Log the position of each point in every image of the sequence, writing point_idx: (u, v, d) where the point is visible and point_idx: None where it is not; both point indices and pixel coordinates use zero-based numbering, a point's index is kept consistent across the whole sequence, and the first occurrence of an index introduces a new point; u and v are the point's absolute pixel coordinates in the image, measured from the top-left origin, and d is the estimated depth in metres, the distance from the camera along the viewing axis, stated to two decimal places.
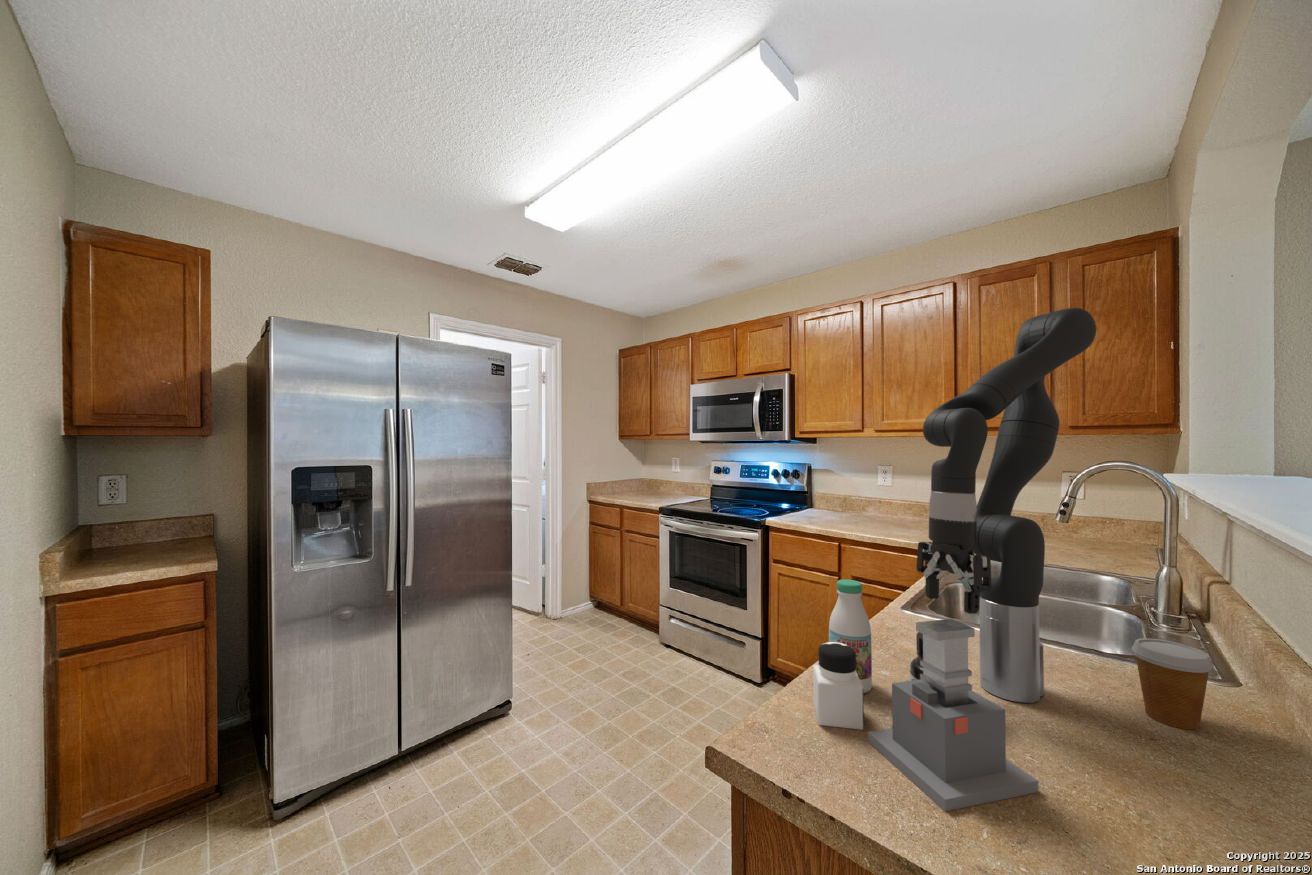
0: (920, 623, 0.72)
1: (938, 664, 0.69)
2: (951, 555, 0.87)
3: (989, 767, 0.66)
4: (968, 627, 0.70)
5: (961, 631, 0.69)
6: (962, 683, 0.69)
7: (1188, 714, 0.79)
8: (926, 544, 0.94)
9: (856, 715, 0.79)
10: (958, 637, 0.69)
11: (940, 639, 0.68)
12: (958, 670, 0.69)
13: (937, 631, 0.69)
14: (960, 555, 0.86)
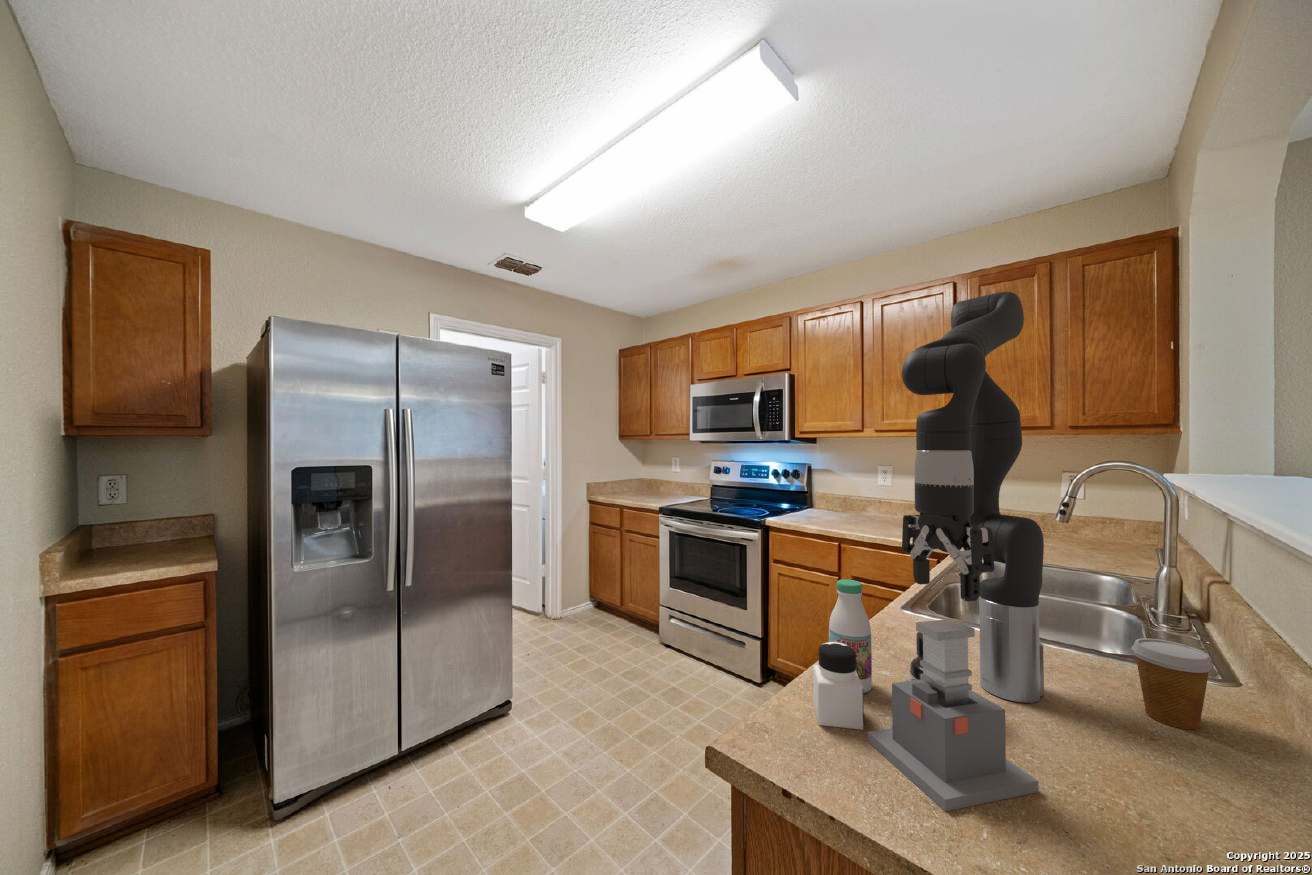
0: (920, 623, 0.72)
1: (938, 664, 0.69)
2: (943, 529, 0.69)
3: (989, 767, 0.66)
4: (968, 627, 0.70)
5: (961, 631, 0.69)
6: (962, 683, 0.69)
7: (1188, 714, 0.79)
8: (913, 517, 0.76)
9: (856, 715, 0.79)
10: (958, 637, 0.69)
11: (940, 639, 0.68)
12: (958, 670, 0.69)
13: (937, 631, 0.69)
14: (954, 528, 0.68)
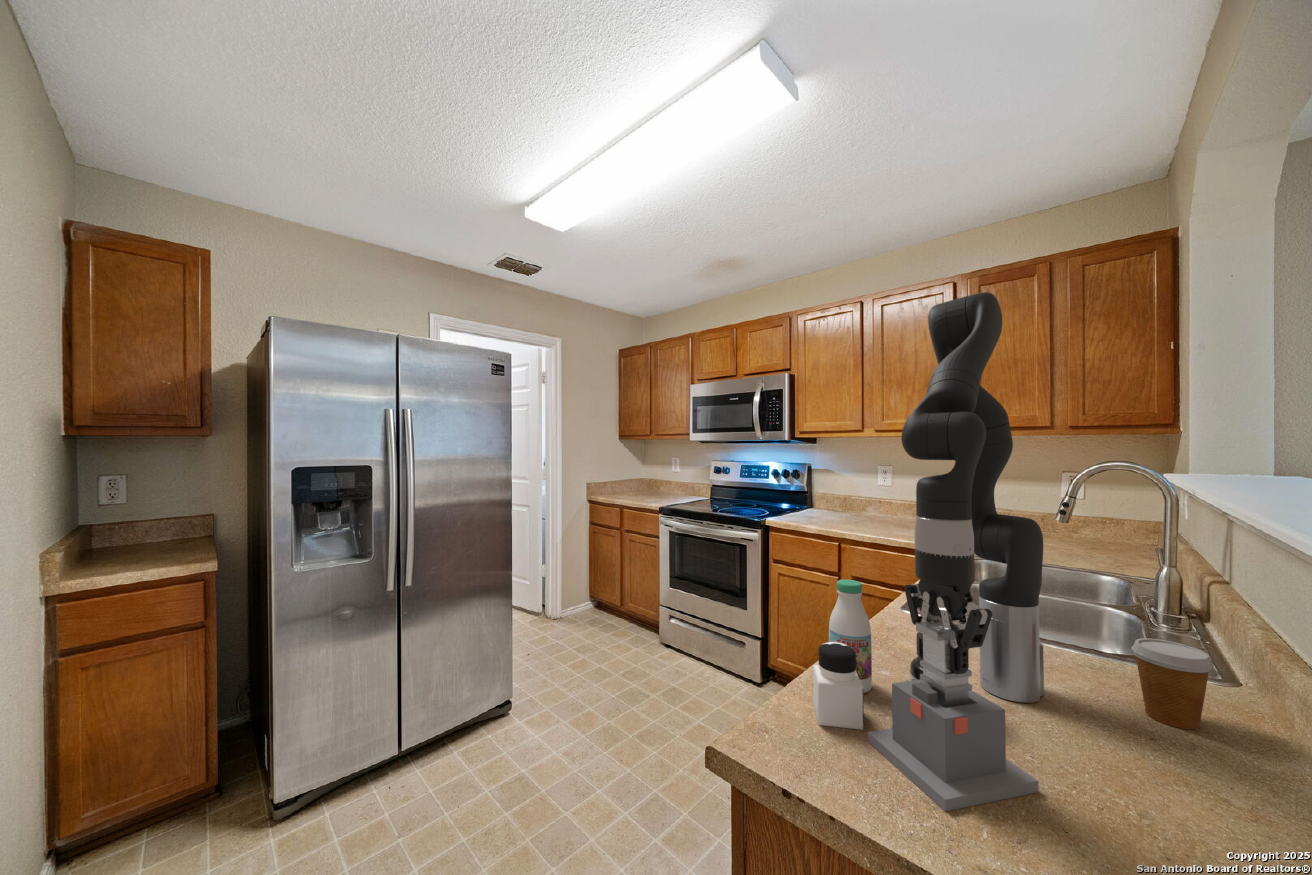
0: (920, 623, 0.72)
1: (938, 664, 0.69)
2: (944, 599, 0.69)
3: (989, 767, 0.66)
4: None
5: None
6: (962, 683, 0.69)
7: (1188, 714, 0.79)
8: (913, 586, 0.76)
9: (856, 715, 0.79)
10: (958, 637, 0.69)
11: (940, 639, 0.68)
12: None
13: (937, 631, 0.69)
14: (955, 598, 0.68)
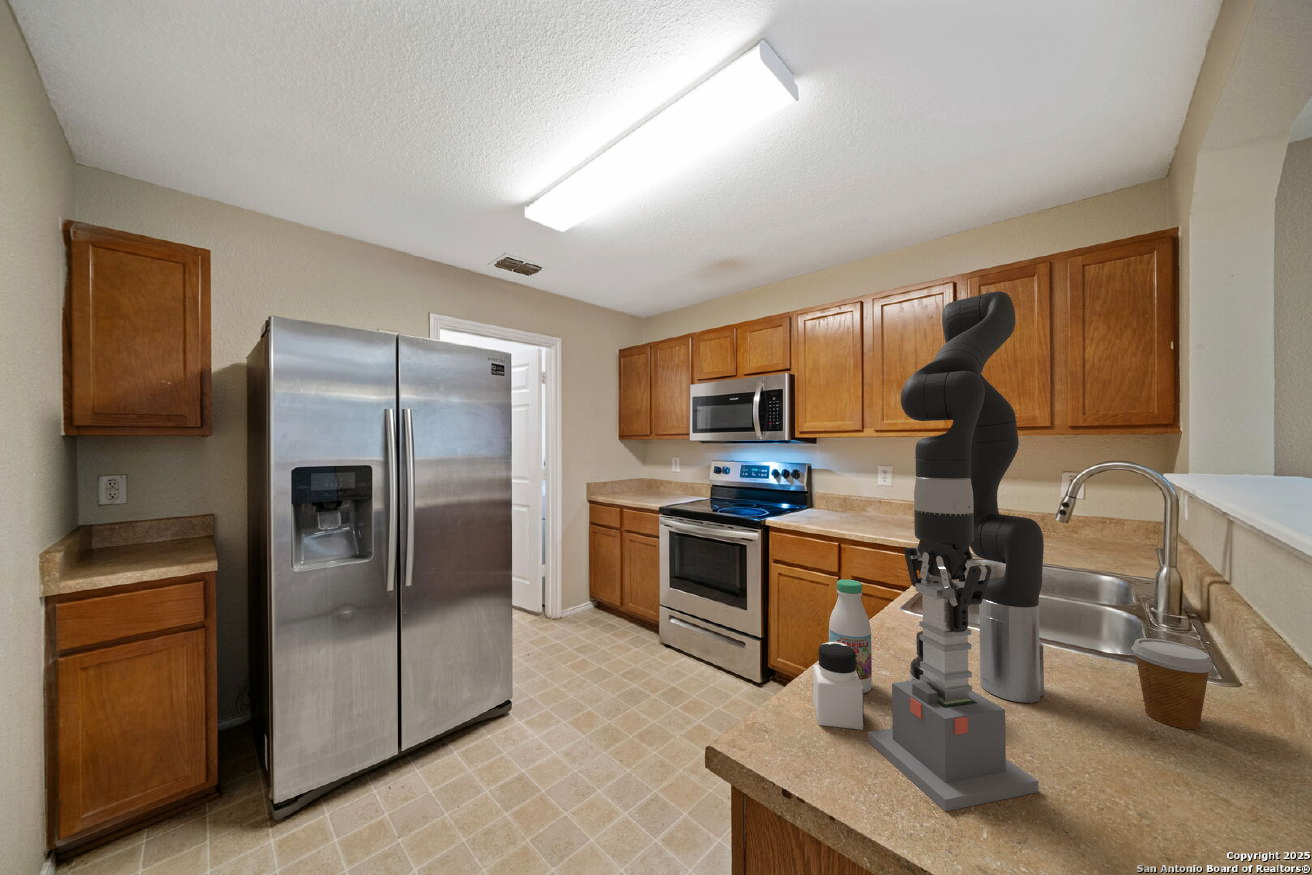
0: (920, 583, 0.72)
1: (938, 623, 0.70)
2: (944, 558, 0.69)
3: (989, 767, 0.66)
4: None
5: None
6: (961, 642, 0.69)
7: (1188, 714, 0.79)
8: (913, 549, 0.76)
9: (856, 715, 0.79)
10: (958, 596, 0.69)
11: (940, 598, 0.68)
12: None
13: (937, 590, 0.69)
14: (954, 557, 0.68)
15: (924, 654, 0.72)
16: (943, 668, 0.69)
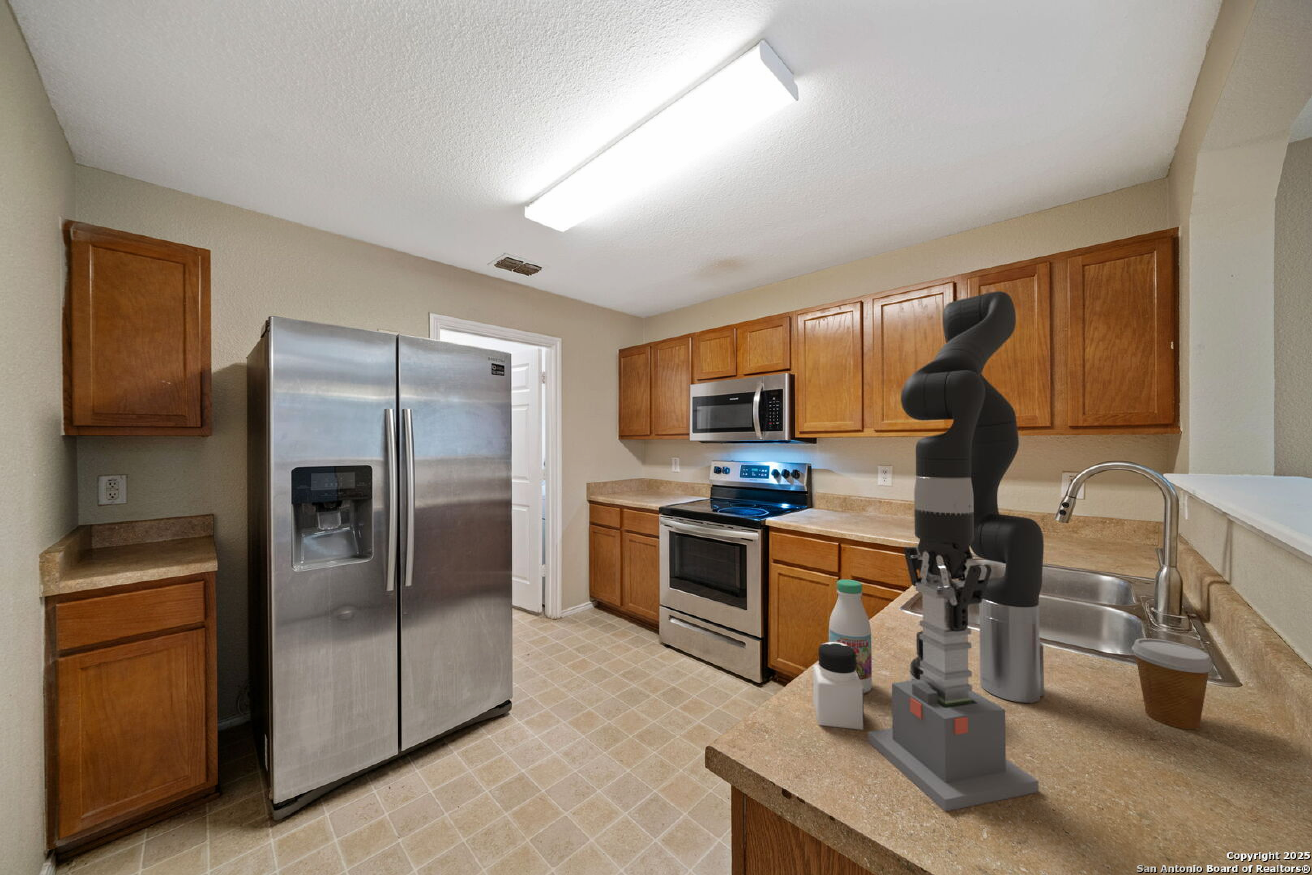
0: (920, 583, 0.72)
1: (938, 623, 0.70)
2: (944, 557, 0.69)
3: (989, 767, 0.66)
4: None
5: None
6: (961, 641, 0.69)
7: (1188, 714, 0.79)
8: (913, 548, 0.76)
9: (856, 715, 0.79)
10: None
11: (940, 597, 0.68)
12: None
13: (937, 589, 0.69)
14: (954, 556, 0.68)
15: (924, 653, 0.72)
16: (943, 667, 0.69)
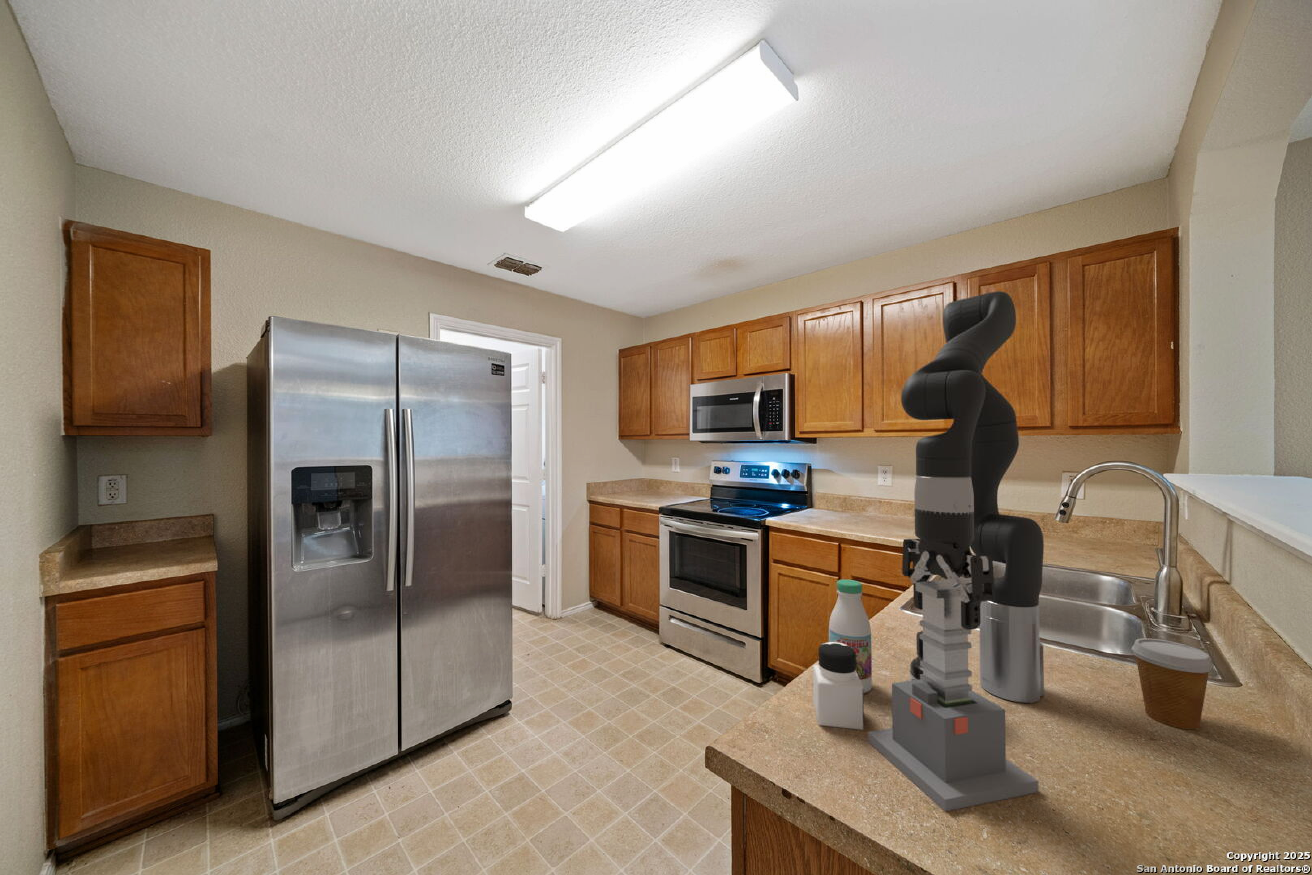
0: (920, 583, 0.72)
1: (938, 622, 0.70)
2: (943, 556, 0.69)
3: (989, 767, 0.66)
4: None
5: None
6: (961, 641, 0.69)
7: (1188, 714, 0.79)
8: (913, 542, 0.76)
9: (856, 715, 0.79)
10: (958, 595, 0.69)
11: (940, 597, 0.68)
12: (957, 628, 0.69)
13: (937, 589, 0.69)
14: (954, 556, 0.68)
15: (924, 653, 0.72)
16: (943, 667, 0.69)
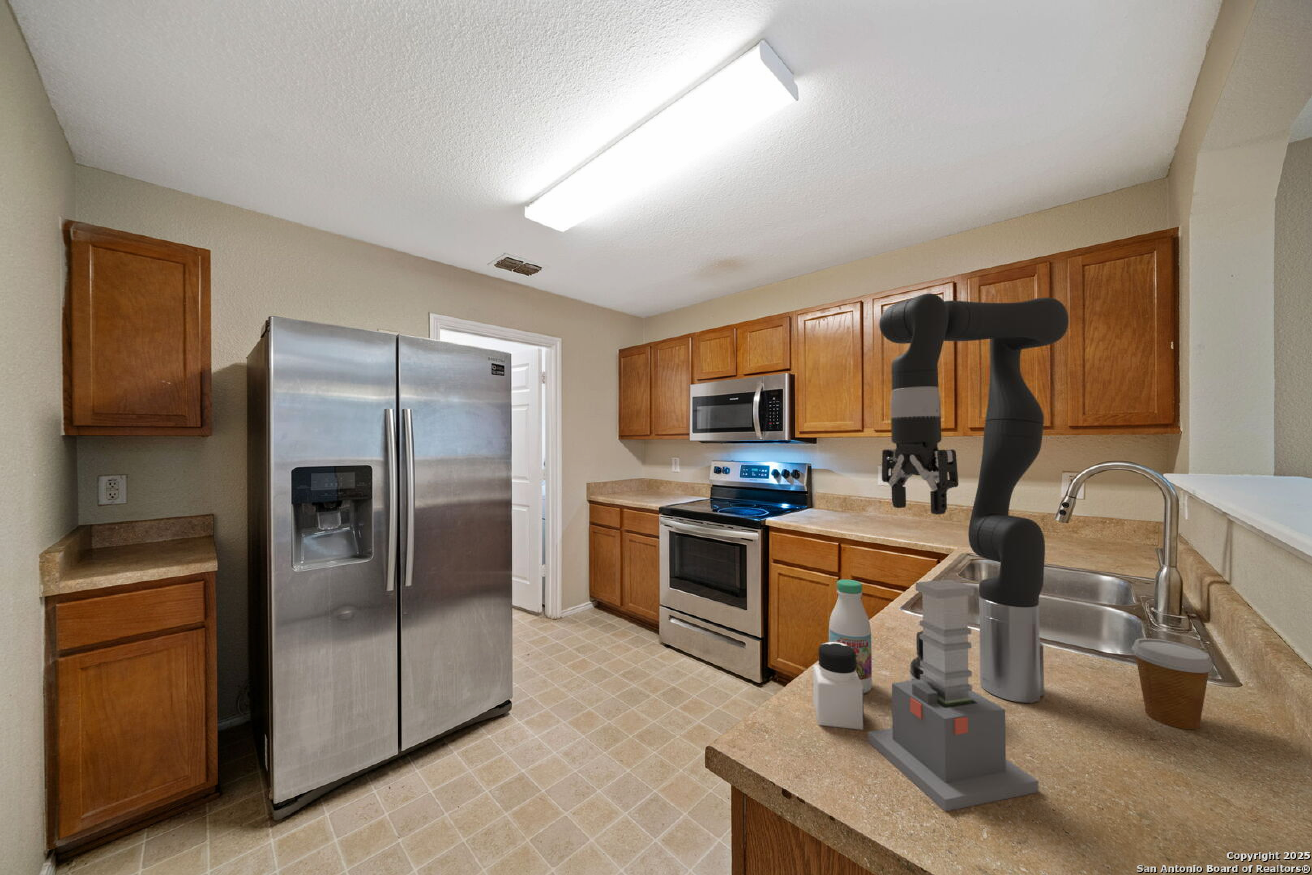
0: (920, 583, 0.72)
1: (938, 622, 0.70)
2: (915, 455, 0.80)
3: (989, 767, 0.66)
4: (967, 586, 0.70)
5: (961, 589, 0.69)
6: (961, 641, 0.69)
7: (1188, 714, 0.79)
8: (890, 451, 0.87)
9: (856, 715, 0.79)
10: (958, 595, 0.69)
11: (940, 597, 0.68)
12: (957, 628, 0.69)
13: (937, 589, 0.69)
14: (924, 453, 0.79)
15: (924, 653, 0.72)
16: (943, 667, 0.69)
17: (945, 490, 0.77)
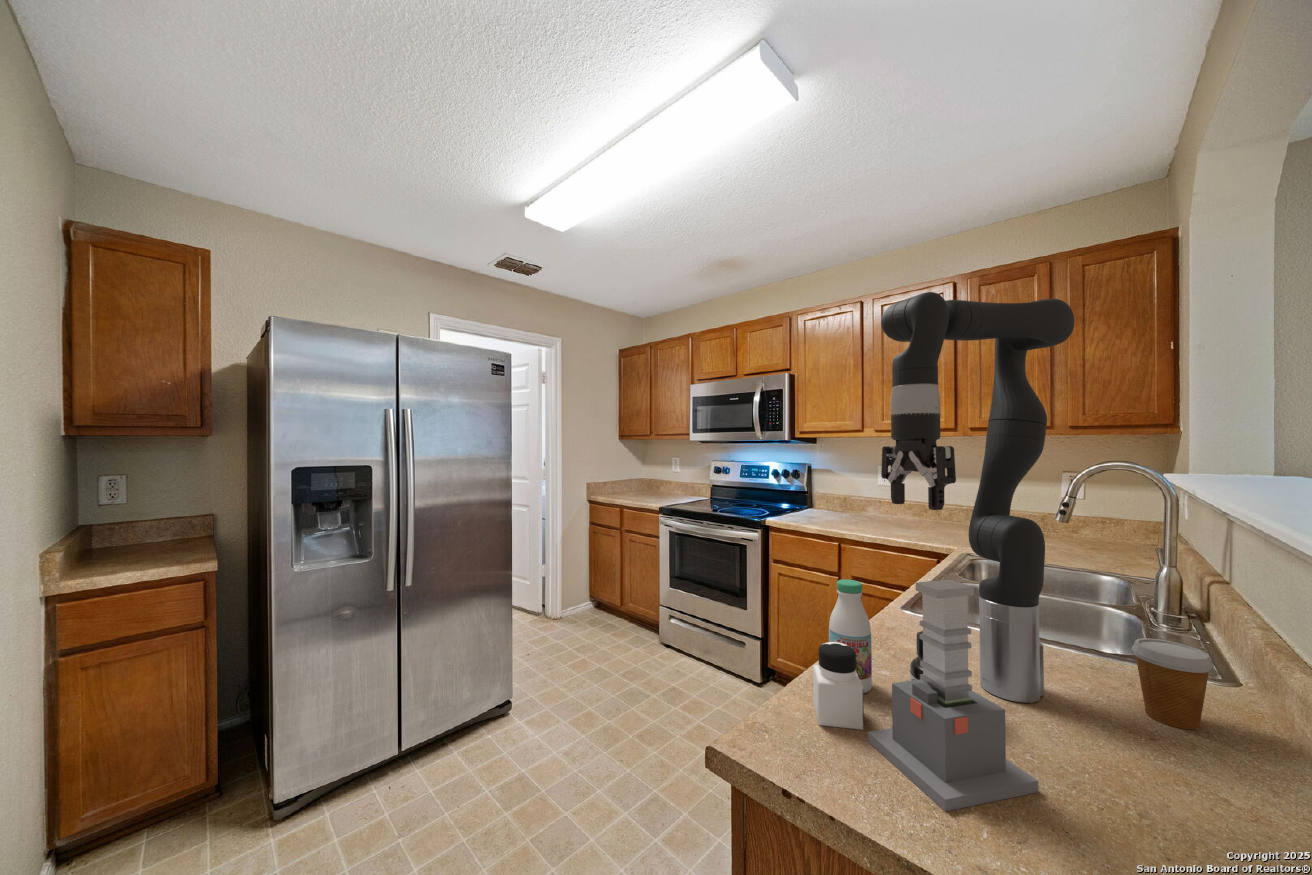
0: (920, 583, 0.72)
1: (938, 622, 0.70)
2: (914, 451, 0.81)
3: (989, 767, 0.66)
4: (967, 586, 0.70)
5: (961, 589, 0.69)
6: (961, 641, 0.69)
7: (1188, 714, 0.79)
8: (890, 448, 0.88)
9: (856, 715, 0.79)
10: (958, 595, 0.69)
11: (940, 597, 0.68)
12: (957, 628, 0.69)
13: (937, 589, 0.69)
14: (923, 450, 0.80)
15: (924, 653, 0.72)
16: (943, 667, 0.69)
17: (943, 486, 0.78)
